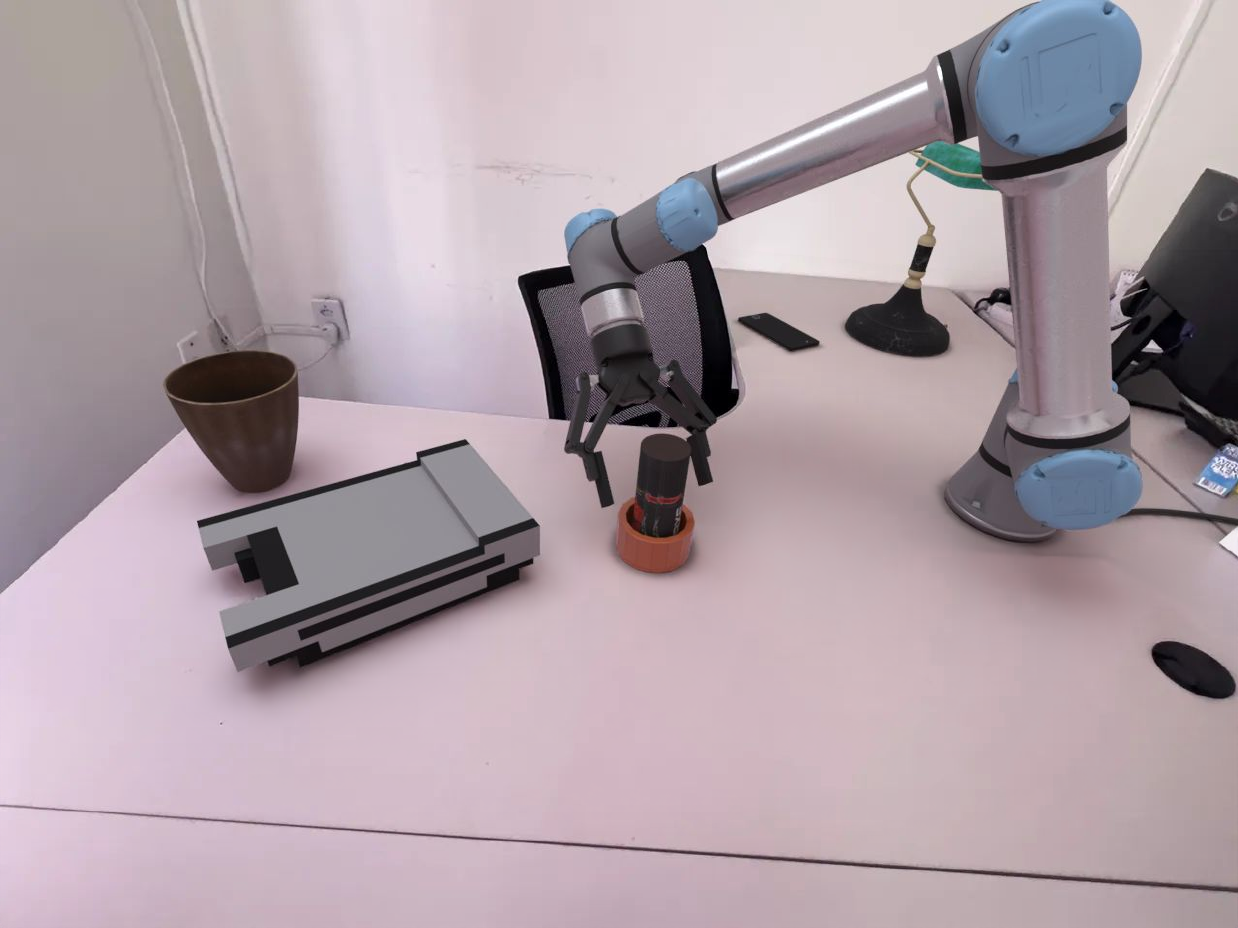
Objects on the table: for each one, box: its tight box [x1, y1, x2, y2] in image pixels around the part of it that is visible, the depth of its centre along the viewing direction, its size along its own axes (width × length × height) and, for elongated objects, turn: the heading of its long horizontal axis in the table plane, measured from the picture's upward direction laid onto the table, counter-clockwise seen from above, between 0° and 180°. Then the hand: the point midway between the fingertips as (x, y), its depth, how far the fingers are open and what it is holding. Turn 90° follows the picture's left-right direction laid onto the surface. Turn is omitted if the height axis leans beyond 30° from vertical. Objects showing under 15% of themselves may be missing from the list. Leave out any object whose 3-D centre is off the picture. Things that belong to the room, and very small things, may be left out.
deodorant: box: [632, 433, 691, 538], centre depth 80 cm, size 6×6×15 cm
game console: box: [196, 438, 541, 673], centre depth 75 cm, size 21×32×8 cm, turn 124°
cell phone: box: [737, 312, 820, 352], centre depth 147 cm, size 9×18×1 cm, turn 31°
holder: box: [615, 496, 696, 574], centre depth 83 cm, size 10×10×5 cm
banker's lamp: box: [844, 141, 999, 358], centre depth 139 cm, size 26×23×40 cm
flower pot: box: [162, 349, 300, 494], centre depth 87 cm, size 15×15×16 cm
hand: (658, 495), depth 80 cm, fingers open, 13 cm apart
